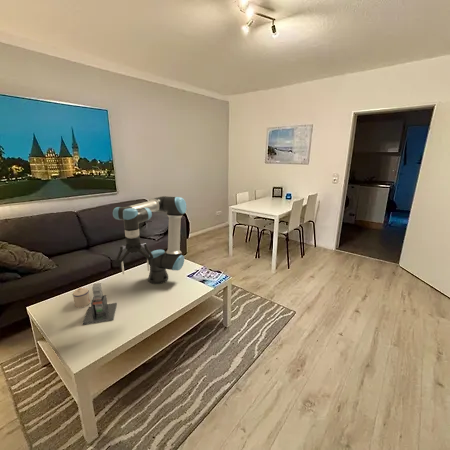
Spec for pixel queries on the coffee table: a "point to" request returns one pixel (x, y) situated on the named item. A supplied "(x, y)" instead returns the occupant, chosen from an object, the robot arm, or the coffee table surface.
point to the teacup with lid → (81, 297)
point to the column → (98, 297)
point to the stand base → (96, 318)
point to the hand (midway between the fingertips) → (136, 271)
